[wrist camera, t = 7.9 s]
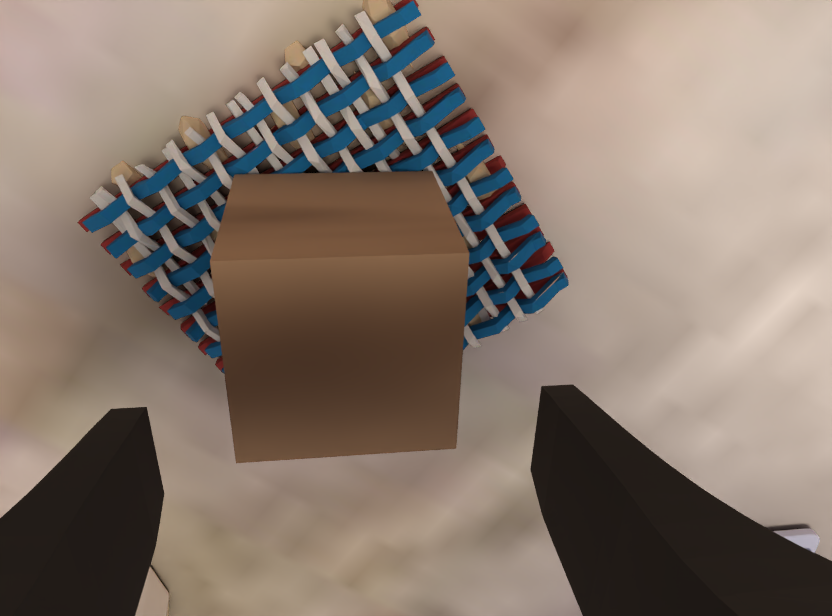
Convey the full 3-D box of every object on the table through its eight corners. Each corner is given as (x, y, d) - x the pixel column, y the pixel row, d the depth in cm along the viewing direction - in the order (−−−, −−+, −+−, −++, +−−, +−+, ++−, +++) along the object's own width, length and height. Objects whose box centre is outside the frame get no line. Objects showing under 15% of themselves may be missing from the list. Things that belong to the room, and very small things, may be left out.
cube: (425, 335, 21) (456, 448, 17) (252, 343, 20) (236, 463, 16) (432, 171, 18) (469, 252, 14) (234, 174, 18) (209, 261, 13)
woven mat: (67, 190, 20) (43, 218, 18) (394, -35, 18) (402, -28, 16) (294, 430, 24) (292, 471, 23) (567, 274, 23) (588, 305, 21)
